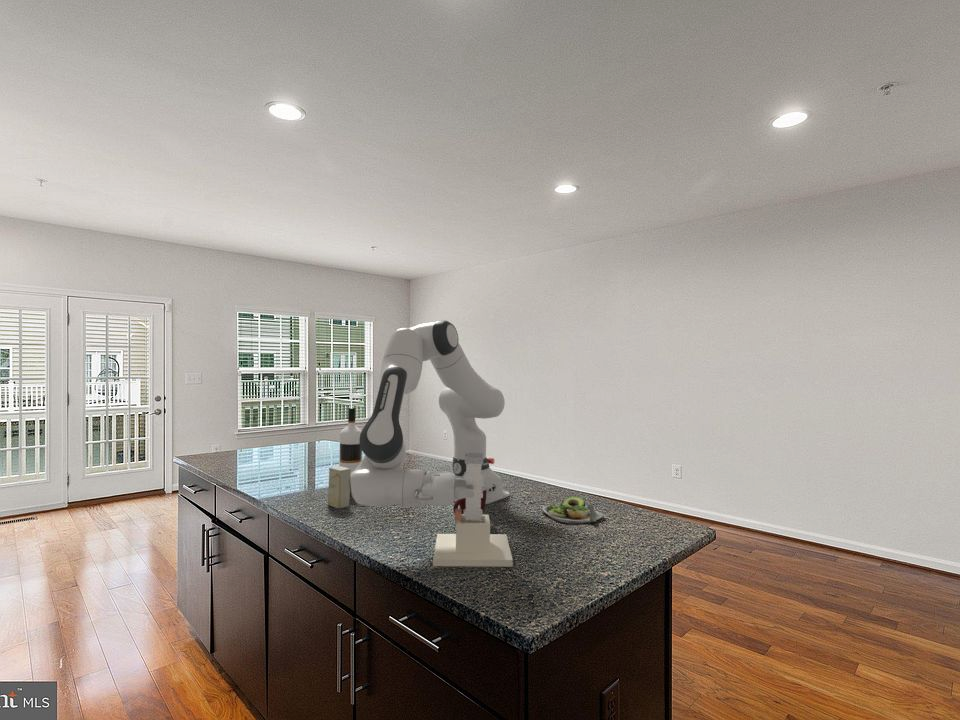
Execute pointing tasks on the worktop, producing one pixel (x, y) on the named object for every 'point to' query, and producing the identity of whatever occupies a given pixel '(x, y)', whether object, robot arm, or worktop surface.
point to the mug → (463, 501)
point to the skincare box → (339, 487)
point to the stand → (472, 545)
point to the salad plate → (572, 511)
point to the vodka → (350, 443)
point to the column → (473, 487)
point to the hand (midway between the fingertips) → (473, 488)
